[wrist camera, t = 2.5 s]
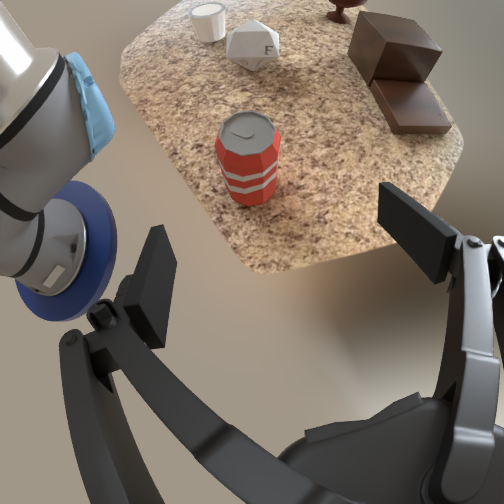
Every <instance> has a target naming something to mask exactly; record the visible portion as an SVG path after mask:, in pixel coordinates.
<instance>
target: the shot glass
mask: <svg viewBox="0 0 504 504" xmlns="http://www.w3.org/2000/svg"><path fill="white" fill-rule="evenodd" d="M188 15H189V18H190V20H191V23H192V26H193V28H194V31H195V34H196V36H197V39H198V40H199V41H201V42H207V43H209V42H215V41H218V40H220V39H222V38H223V37H224V36H225V6H224V5H223V4H221V3H216V2H210V3H204V4H200V5H197V6H195V7H193V8H191V9H190V11H189V12H188Z"/></svg>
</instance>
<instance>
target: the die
mask: <svg viewBox="0 0 504 504" xmlns="http://www.w3.org/2000/svg"><path fill="white" fill-rule="evenodd" d="M226 58H227V59H229V60H231V61H234V62H235V63H237V64H239V65H241V66H243V67H245V68H247V69H249V70H251V71H255V70H257V69H259V68H260V67H262V66H264V65H266V64H268V63H269V62H271V61H273V60H275V59H277V58H279V35H278V33H277V32H275V31H273V30H272V29H270V28H268V27H267V26H265V25H263V24H261V23H260V22H258V21H256V20H254V19H250V20H249V21H247V22H245V23H244V24H242V25H241V26H239V27H237V28H236V29H234V30H233V31H231V32H230V33H228V34H227V47H226Z"/></svg>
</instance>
